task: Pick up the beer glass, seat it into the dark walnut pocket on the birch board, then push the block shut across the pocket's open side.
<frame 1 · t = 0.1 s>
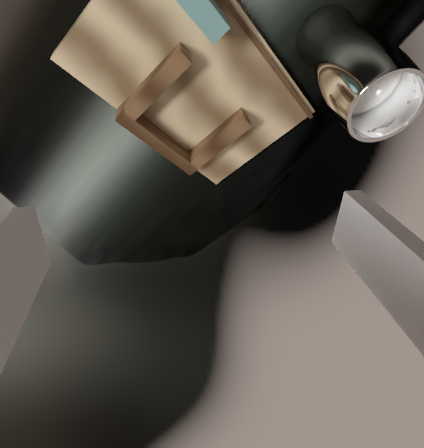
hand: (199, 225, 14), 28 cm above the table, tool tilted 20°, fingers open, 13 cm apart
beer glass: (322, 35, 36), on the table
board: (197, 83, 38), on the table
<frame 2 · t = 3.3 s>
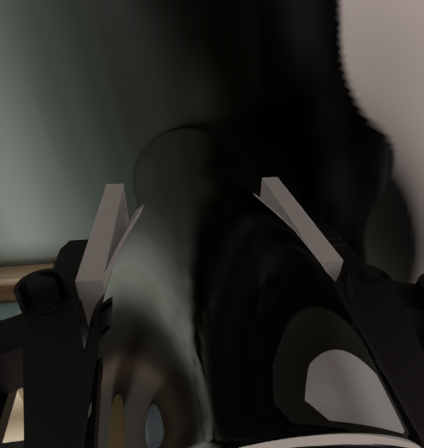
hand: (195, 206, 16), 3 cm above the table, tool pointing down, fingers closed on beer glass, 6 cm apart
beer glass: (189, 179, 18), on the table, touching gripper
board: (113, 349, 24), on the table
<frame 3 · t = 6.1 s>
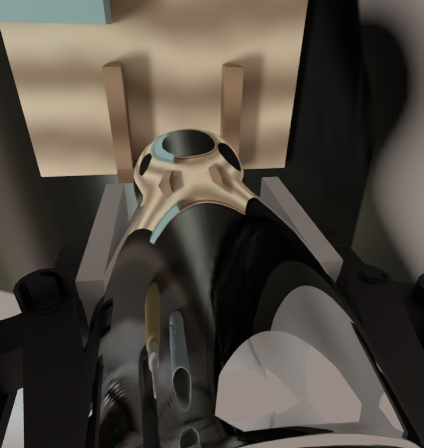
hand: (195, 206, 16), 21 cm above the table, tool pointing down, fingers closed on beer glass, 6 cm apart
block: (45, 7, 24), point 3 cm above the table, slide at 0.0 cm
beer glass: (189, 180, 18), point 17 cm above the table, touching gripper
board: (163, 85, 31), on the table
when the fingers open (5 cm above the table, at t = 8.7 s): beer glass drops 1 cm, resting on board.
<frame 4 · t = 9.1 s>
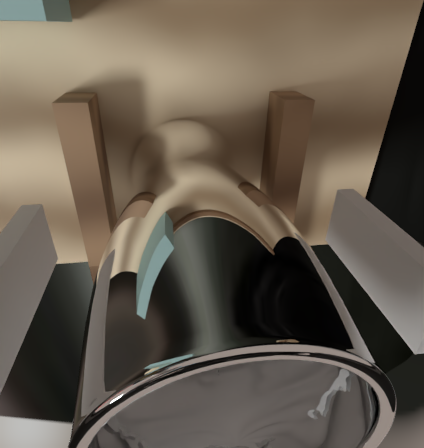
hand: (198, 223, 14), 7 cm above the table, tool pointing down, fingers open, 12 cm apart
beer glass: (184, 170, 19), point 1 cm above the table, touching board
board: (168, 125, 19), on the table
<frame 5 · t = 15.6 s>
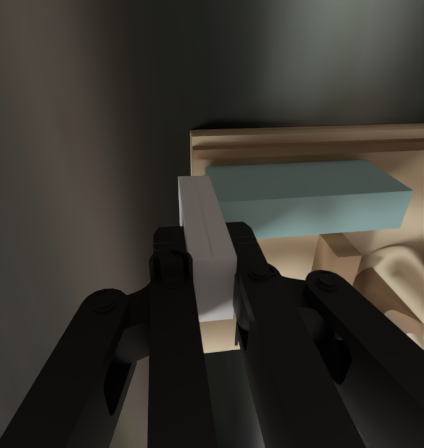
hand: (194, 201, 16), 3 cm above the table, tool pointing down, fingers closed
block: (298, 196, 16), point 3 cm above the table, slide at 0.6 cm, touching gripper
beer glass: (381, 276, 24), point 1 cm above the table, touching board
board: (372, 242, 23), on the table
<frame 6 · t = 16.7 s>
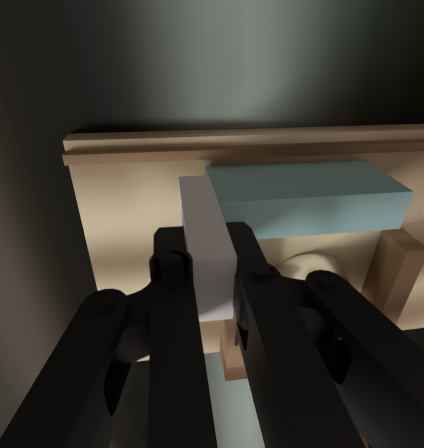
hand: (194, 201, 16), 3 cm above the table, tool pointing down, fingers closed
block: (298, 196, 16), point 4 cm above the table, slide at 6.8 cm, touching gripper
beer glass: (301, 284, 23), point 1 cm above the table, touching board
board: (290, 249, 23), on the table
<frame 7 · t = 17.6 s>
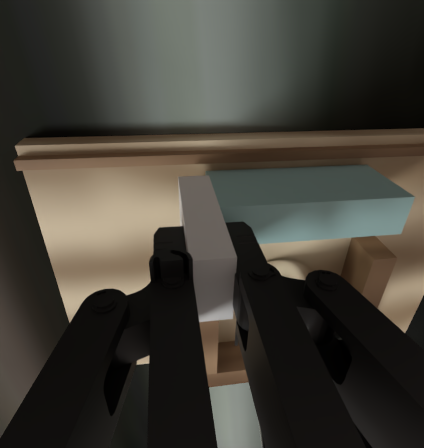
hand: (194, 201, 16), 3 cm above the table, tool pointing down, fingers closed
block: (299, 201, 16), point 3 cm above the table, slide at 8.9 cm, touching gripper
beer glass: (272, 291, 23), point 1 cm above the table, touching board
board: (261, 255, 22), on the table
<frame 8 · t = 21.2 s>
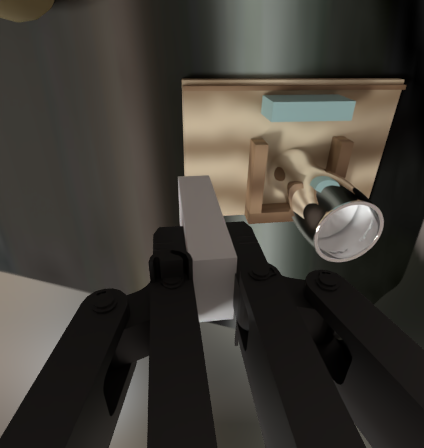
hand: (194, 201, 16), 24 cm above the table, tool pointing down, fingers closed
block: (306, 107, 36), point 3 cm above the table, slide at 8.9 cm
beer glass: (290, 170, 42), point 1 cm above the table, touching board
board: (284, 150, 42), on the table
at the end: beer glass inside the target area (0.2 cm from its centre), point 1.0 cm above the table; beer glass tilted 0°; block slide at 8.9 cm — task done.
